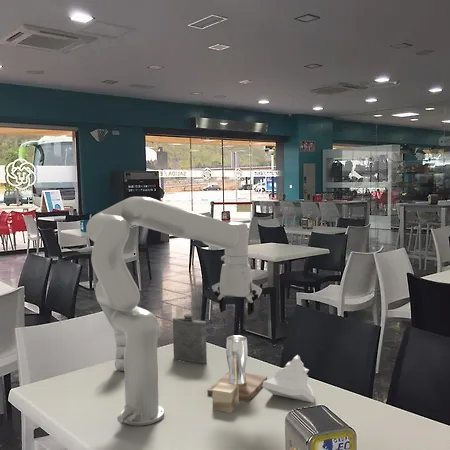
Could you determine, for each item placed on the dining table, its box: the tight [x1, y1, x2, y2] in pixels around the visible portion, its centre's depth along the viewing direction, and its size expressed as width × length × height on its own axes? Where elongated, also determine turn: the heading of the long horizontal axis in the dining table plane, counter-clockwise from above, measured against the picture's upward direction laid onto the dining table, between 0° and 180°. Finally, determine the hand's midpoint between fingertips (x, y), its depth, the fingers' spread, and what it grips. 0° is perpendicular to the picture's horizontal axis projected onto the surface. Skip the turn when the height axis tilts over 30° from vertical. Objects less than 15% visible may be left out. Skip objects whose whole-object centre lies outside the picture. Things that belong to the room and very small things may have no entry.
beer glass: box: [225, 335, 248, 386], centre depth 170 cm, size 7×7×15 cm
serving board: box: [207, 371, 268, 402], centre depth 171 cm, size 18×14×2 cm
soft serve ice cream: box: [261, 354, 315, 404], centre depth 163 cm, size 12×15×14 cm
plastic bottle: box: [113, 329, 126, 372], centre depth 188 cm, size 6×7×20 cm
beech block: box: [211, 383, 240, 413], centre depth 156 cm, size 6×6×6 cm
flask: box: [172, 313, 208, 365], centre depth 196 cm, size 4×14×18 cm, turn 62°
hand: (236, 312), depth 169 cm, fingers open, 9 cm apart
